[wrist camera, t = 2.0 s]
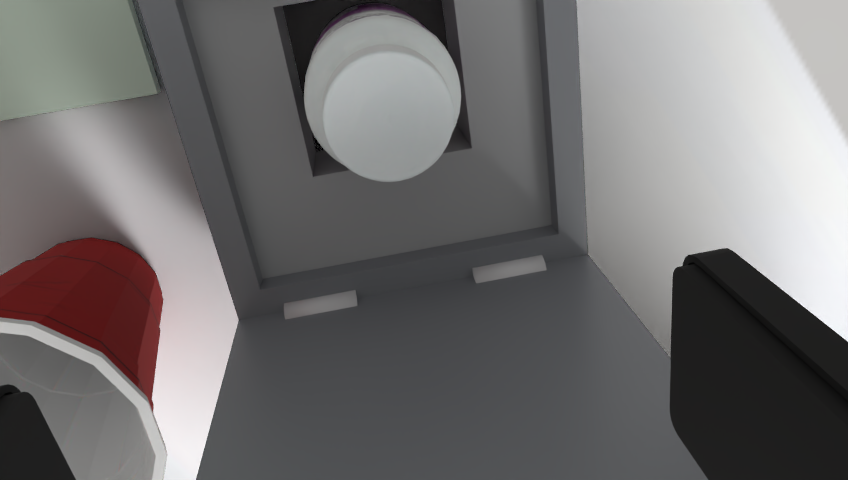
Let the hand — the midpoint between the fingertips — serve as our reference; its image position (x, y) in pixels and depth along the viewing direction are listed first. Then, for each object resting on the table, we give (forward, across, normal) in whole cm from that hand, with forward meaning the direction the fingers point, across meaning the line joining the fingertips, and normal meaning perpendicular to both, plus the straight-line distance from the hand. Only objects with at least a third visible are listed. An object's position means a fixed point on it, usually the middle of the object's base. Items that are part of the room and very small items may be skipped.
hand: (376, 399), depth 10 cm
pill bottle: (+21, -1, -1) cm, 21 cm away
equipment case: (+21, -1, 0) cm, 21 cm away
